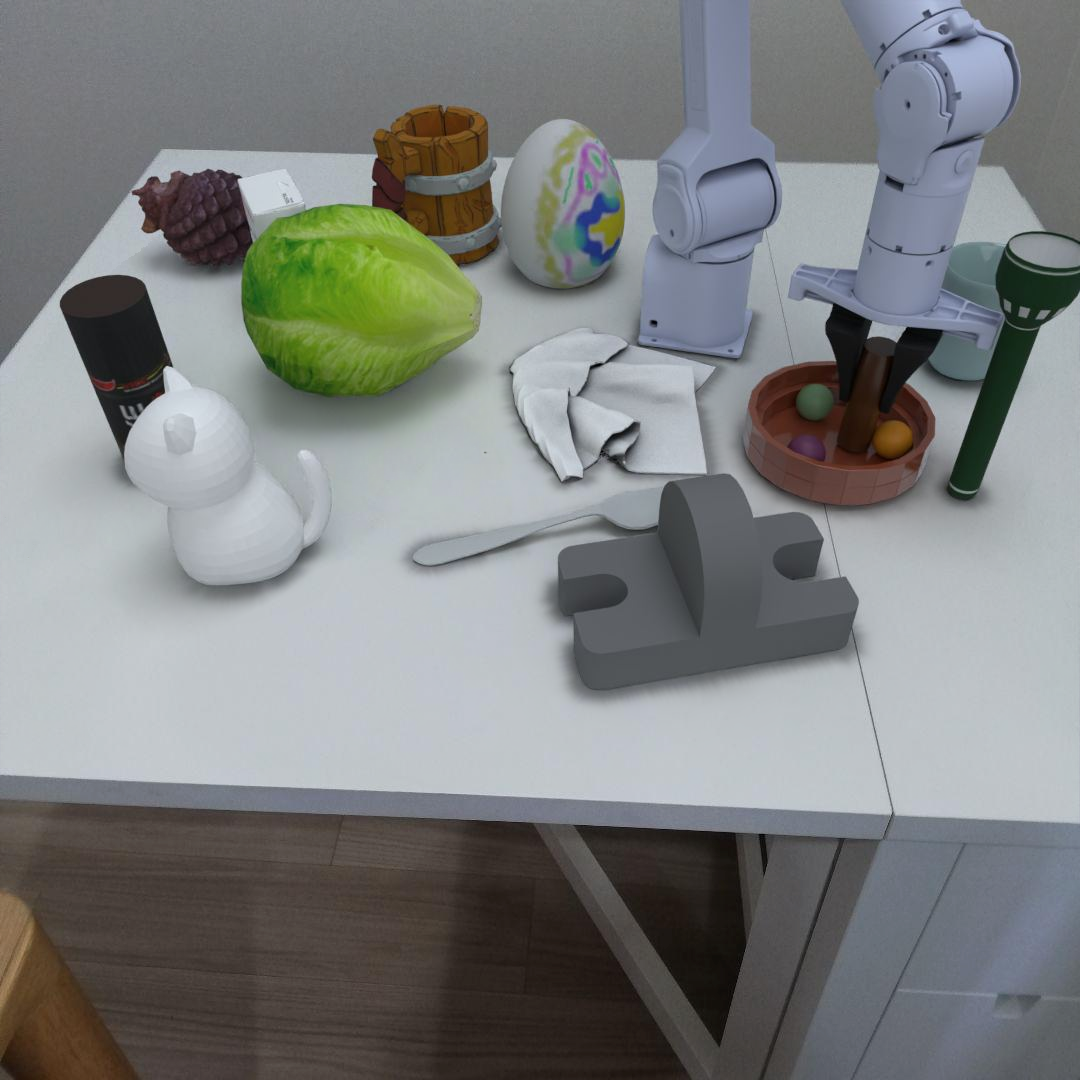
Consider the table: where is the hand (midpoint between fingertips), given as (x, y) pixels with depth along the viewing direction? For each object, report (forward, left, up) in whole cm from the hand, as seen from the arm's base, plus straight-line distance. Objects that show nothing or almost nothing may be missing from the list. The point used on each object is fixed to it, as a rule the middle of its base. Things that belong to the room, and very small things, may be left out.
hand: (867, 400), depth 75 cm
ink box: (-55, +9, -5) cm, 56 cm away
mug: (-45, +22, -5) cm, 50 cm away
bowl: (-2, -1, -5) cm, 5 cm away
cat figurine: (-41, -24, -5) cm, 47 cm away
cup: (+8, +14, -5) cm, 17 cm away
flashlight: (+8, -3, -5) cm, 10 cm away
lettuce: (-42, -1, -5) cm, 42 cm away
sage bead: (-4, +3, -3) cm, 5 cm away
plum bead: (-4, -4, -3) cm, 6 cm away
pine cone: (-66, +16, -5) cm, 68 cm away
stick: (0, 0, -4) cm, 4 cm away
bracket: (-9, -21, -5) cm, 23 cm away
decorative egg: (-31, +22, -5) cm, 38 cm away
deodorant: (-54, -16, -5) cm, 56 cm away
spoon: (-21, -16, -5) cm, 27 cm away
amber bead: (+3, -1, -3) cm, 4 cm away
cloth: (-20, 0, -5) cm, 21 cm away
